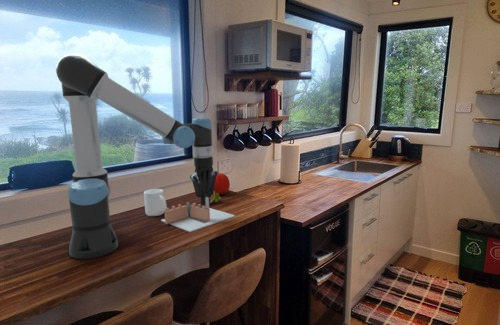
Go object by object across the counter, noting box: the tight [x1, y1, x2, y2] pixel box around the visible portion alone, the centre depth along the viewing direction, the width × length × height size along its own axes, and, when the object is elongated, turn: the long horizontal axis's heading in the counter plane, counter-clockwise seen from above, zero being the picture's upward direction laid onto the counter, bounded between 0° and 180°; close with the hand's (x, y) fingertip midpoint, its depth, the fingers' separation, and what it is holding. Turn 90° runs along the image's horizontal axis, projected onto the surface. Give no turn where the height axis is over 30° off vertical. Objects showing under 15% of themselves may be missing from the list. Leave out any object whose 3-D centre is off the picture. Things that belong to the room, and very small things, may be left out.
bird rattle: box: [210, 191, 222, 204], centre depth 169 cm, size 6×11×9 cm
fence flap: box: [189, 202, 210, 221], centre depth 145 cm, size 10×2×6 cm, turn 55°
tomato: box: [214, 172, 231, 196], centre depth 185 cm, size 13×14×12 cm
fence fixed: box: [164, 201, 191, 225], centre depth 144 cm, size 12×1×7 cm, turn 136°
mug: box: [143, 188, 167, 217], centre depth 154 cm, size 12×8×10 cm
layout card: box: [160, 207, 236, 233], centre depth 147 cm, size 25×20×1 cm
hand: (205, 212), depth 145 cm, fingers closed
